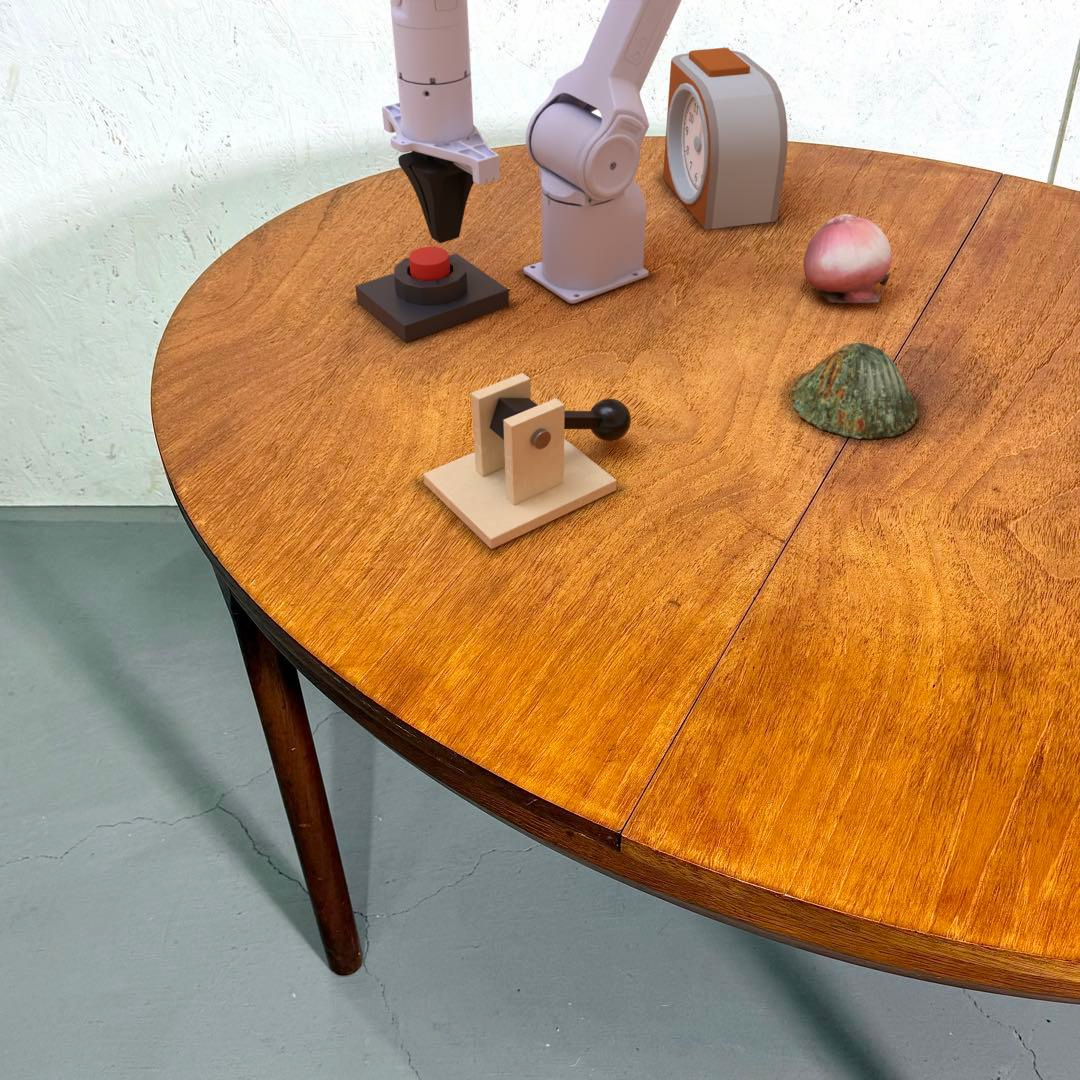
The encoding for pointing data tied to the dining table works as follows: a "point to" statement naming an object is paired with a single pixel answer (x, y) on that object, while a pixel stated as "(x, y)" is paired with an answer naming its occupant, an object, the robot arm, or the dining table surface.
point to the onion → (848, 260)
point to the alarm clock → (725, 138)
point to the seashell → (856, 394)
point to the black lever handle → (572, 417)
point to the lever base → (517, 469)
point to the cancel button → (429, 263)
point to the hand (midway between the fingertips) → (445, 237)
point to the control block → (431, 298)
